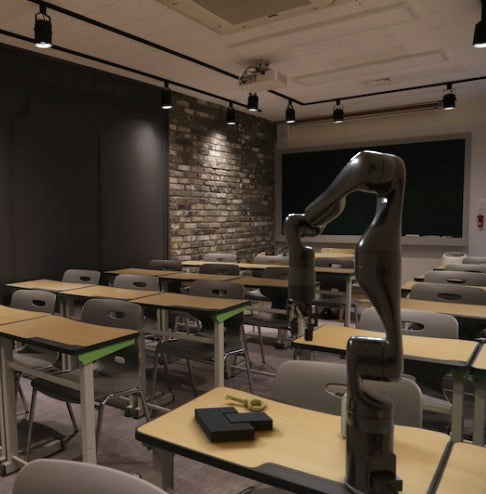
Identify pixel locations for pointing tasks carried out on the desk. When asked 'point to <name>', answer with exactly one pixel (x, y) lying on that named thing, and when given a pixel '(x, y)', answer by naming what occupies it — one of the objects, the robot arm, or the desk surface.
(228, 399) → the key
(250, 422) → the strip pad
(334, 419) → the desk surface
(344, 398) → the photo printer
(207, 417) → the base pad
